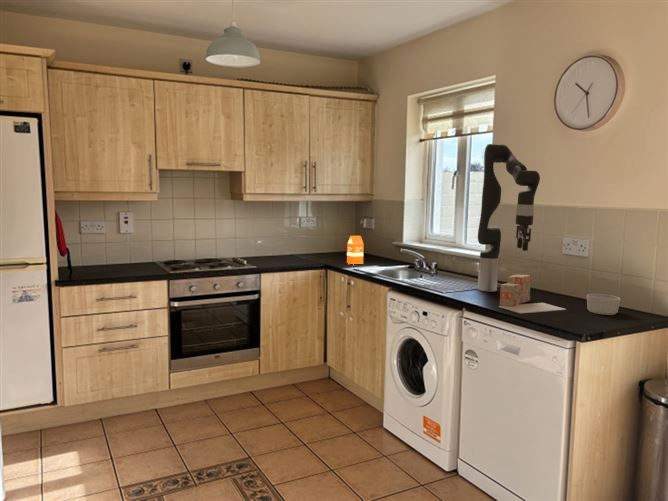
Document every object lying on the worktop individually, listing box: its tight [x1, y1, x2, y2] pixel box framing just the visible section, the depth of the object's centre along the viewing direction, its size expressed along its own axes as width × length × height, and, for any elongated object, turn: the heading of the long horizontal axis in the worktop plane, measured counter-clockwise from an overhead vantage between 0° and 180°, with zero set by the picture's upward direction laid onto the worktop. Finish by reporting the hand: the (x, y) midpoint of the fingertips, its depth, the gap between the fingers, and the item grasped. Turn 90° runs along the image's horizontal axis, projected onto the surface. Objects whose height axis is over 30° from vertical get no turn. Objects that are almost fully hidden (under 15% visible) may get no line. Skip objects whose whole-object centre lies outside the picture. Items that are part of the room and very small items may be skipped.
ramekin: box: [586, 293, 622, 316], centre depth 229 cm, size 13×13×7 cm
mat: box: [498, 302, 567, 314], centre depth 234 cm, size 14×25×1 cm, turn 111°
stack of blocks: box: [499, 273, 532, 306], centre depth 244 cm, size 21×6×12 cm, turn 141°
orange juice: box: [346, 235, 365, 266], centre depth 370 cm, size 8×9×20 cm
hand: (522, 249), depth 245 cm, fingers open, 8 cm apart
